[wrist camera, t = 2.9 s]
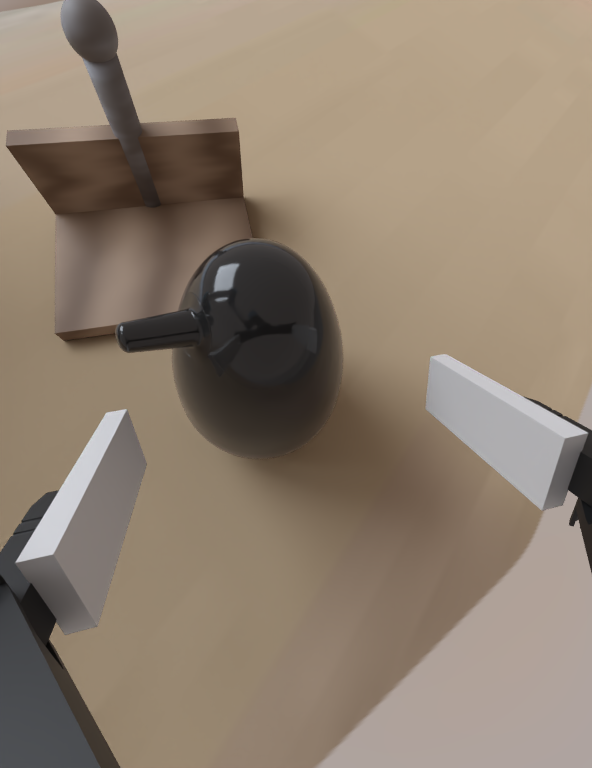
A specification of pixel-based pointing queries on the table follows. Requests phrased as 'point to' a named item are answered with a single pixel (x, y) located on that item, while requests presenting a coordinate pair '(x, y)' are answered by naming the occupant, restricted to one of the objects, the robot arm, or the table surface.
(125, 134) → the stand
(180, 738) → the table surface
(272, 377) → the pump dispenser
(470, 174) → the table surface
